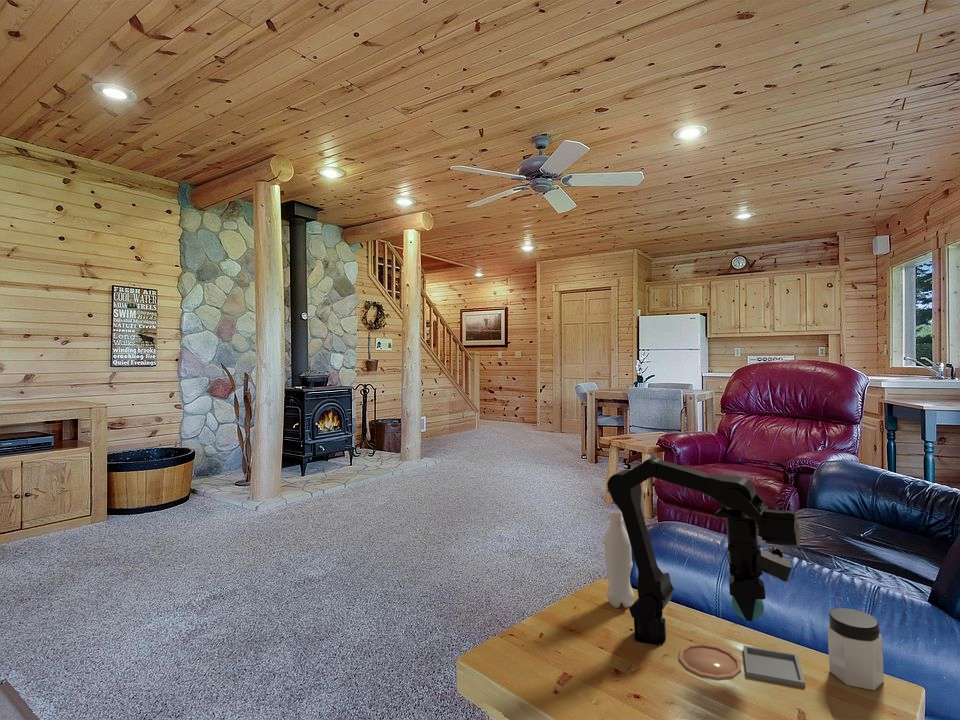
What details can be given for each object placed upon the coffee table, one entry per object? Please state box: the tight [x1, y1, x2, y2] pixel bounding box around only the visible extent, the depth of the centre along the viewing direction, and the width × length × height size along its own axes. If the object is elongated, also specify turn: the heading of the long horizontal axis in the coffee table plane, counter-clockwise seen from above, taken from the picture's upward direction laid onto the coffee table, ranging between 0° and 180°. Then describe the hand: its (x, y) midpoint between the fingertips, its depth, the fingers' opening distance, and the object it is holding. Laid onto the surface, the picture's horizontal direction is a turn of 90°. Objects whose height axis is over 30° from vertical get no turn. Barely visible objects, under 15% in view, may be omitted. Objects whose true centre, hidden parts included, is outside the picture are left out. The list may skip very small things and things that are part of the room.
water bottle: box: [603, 509, 635, 609], centre depth 138 cm, size 7×7×25 cm
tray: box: [743, 645, 806, 688], centre depth 106 cm, size 10×10×2 cm
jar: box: [827, 607, 885, 691], centre depth 103 cm, size 9×8×12 cm
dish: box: [678, 643, 742, 681], centre depth 110 cm, size 12×12×1 cm
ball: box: [731, 595, 765, 621], centre depth 107 cm, size 6×6×6 cm
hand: (748, 613), depth 107 cm, fingers closed on ball, 6 cm apart
